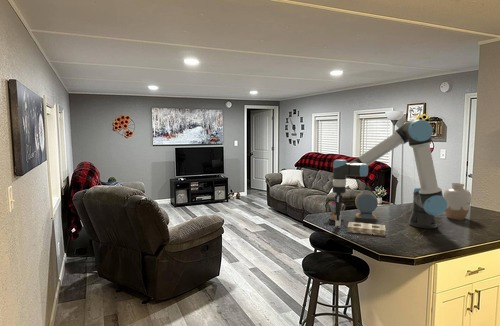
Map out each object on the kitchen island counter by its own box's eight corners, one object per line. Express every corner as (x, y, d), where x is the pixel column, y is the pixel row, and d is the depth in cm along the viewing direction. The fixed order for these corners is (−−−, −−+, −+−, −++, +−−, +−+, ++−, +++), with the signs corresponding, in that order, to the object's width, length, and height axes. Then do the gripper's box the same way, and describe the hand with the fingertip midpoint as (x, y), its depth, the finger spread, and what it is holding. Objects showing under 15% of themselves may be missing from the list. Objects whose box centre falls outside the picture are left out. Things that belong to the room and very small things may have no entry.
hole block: (384, 230, 195) (384, 225, 194) (385, 235, 185) (385, 230, 184) (348, 226, 202) (349, 221, 201) (347, 231, 191) (347, 226, 191)
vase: (465, 222, 212) (467, 186, 209) (438, 217, 223) (440, 183, 221) (473, 218, 222) (475, 184, 220) (447, 213, 234) (449, 181, 232)
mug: (335, 222, 211) (335, 205, 210) (325, 218, 219) (326, 202, 218) (349, 220, 217) (350, 203, 215) (339, 216, 225) (340, 201, 224)
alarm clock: (375, 215, 229) (376, 189, 227) (378, 219, 219) (379, 192, 217) (353, 214, 231) (354, 189, 229) (355, 218, 222) (356, 191, 220)
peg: (340, 226, 201) (341, 210, 200) (340, 228, 198) (340, 211, 198) (335, 226, 202) (336, 210, 201) (335, 227, 200) (335, 211, 199)
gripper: (334, 183, 207) (333, 220, 209) (331, 187, 192) (329, 227, 194) (346, 184, 204) (345, 222, 206) (344, 188, 189) (343, 229, 192)
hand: (338, 224), depth 200 cm, fingers closed on peg, 3 cm apart
